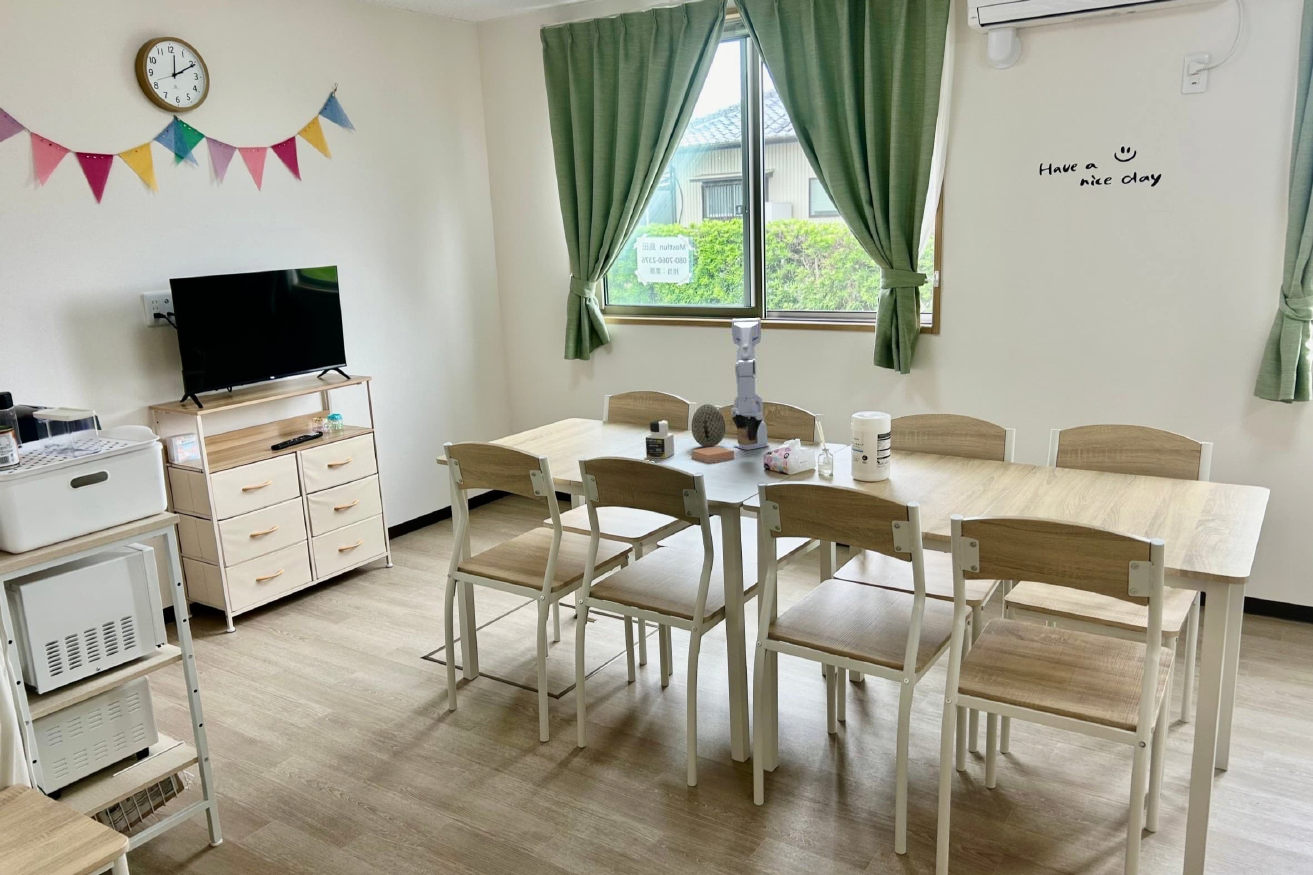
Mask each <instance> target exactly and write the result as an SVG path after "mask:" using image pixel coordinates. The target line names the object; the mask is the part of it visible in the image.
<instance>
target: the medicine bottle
mask: <svg viewBox="0 0 1313 875" xmlns="http://www.w3.org/2000/svg"><path fill="white" fill-rule="evenodd" d="M649 430H650V431H649V432H650V434H648V435H647V436H645V452H646V453H645V454H646V458H651V459H652V458H653V459H664V460H665V459H668V458H669V457H671V456H673V455H675V442H674V441H675V439H674V433H669V423H668V421H667V420H664V419H657V420H656V419H655V420H652V421H651V422H649Z"/></svg>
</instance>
